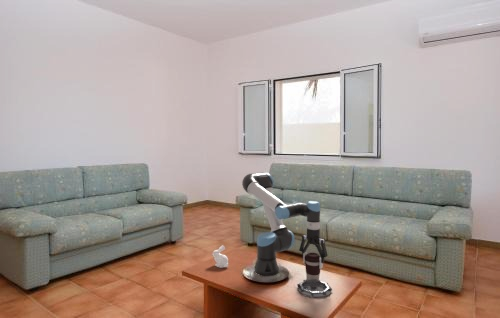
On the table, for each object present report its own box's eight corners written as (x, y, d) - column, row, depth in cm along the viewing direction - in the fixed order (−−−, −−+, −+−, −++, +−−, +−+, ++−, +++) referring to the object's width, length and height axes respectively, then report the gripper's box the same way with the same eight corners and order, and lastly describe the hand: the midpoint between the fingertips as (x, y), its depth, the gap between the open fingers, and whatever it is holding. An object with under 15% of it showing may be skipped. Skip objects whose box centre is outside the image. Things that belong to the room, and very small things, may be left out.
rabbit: (210, 265, 210) (210, 247, 209) (221, 261, 217) (221, 243, 216) (223, 270, 202) (223, 251, 201) (234, 265, 209) (234, 247, 208)
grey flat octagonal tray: (291, 290, 174) (291, 286, 174) (308, 279, 188) (308, 276, 187) (321, 301, 162) (321, 297, 162) (336, 288, 176) (337, 284, 176)
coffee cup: (321, 283, 182) (322, 258, 181) (303, 282, 184) (304, 256, 183) (321, 276, 192) (321, 252, 191) (304, 275, 194) (304, 250, 193)
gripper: (293, 226, 190) (293, 263, 192) (328, 233, 176) (327, 272, 177) (299, 223, 196) (299, 259, 197) (334, 230, 182) (333, 268, 183)
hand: (312, 265), depth 187 cm, fingers closed on coffee cup, 10 cm apart
